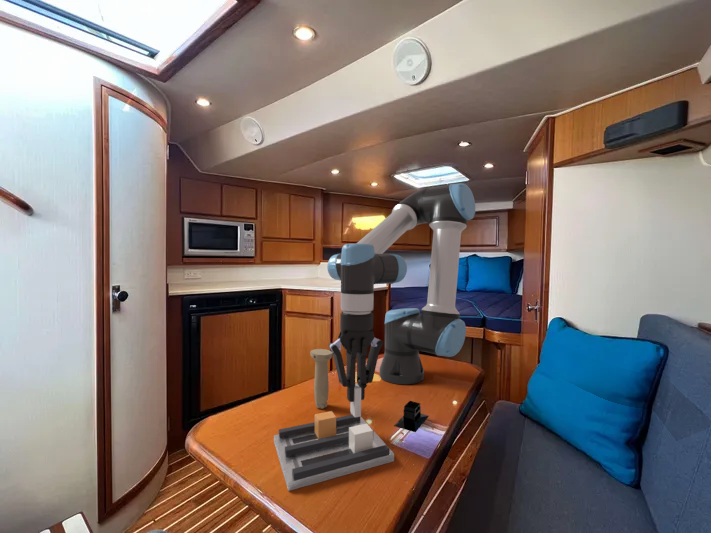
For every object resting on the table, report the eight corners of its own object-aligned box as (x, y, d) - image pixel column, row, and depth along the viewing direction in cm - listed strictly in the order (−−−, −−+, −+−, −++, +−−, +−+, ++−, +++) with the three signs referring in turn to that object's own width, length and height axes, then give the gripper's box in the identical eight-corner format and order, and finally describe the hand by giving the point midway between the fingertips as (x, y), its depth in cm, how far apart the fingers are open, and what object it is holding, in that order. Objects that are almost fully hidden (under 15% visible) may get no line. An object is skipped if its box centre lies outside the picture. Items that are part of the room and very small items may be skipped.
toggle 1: (331, 428, 72) (331, 411, 72) (336, 435, 70) (336, 417, 69) (314, 432, 71) (314, 414, 71) (318, 439, 68) (318, 420, 68)
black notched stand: (416, 439, 72) (416, 419, 72) (387, 429, 76) (387, 410, 76) (434, 416, 83) (434, 398, 82) (407, 408, 86) (408, 392, 86)
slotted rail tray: (358, 418, 77) (358, 413, 77) (389, 454, 63) (389, 448, 63) (278, 434, 70) (278, 429, 70) (293, 480, 55) (294, 473, 55)
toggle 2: (366, 442, 67) (366, 423, 67) (372, 450, 64) (372, 430, 64) (348, 446, 65) (348, 427, 65) (354, 454, 63) (354, 434, 62)
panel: (361, 422, 78) (361, 416, 78) (394, 461, 63) (394, 453, 63) (273, 441, 70) (273, 434, 70) (288, 491, 55) (288, 482, 55)
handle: (323, 413, 82) (323, 356, 82) (306, 406, 87) (306, 351, 86) (336, 407, 86) (336, 352, 86) (319, 400, 90) (319, 347, 90)
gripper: (375, 307, 78) (373, 402, 79) (324, 310, 73) (323, 412, 74) (390, 312, 72) (388, 416, 72) (335, 315, 66) (334, 427, 67)
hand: (355, 414), depth 73 cm, fingers closed
